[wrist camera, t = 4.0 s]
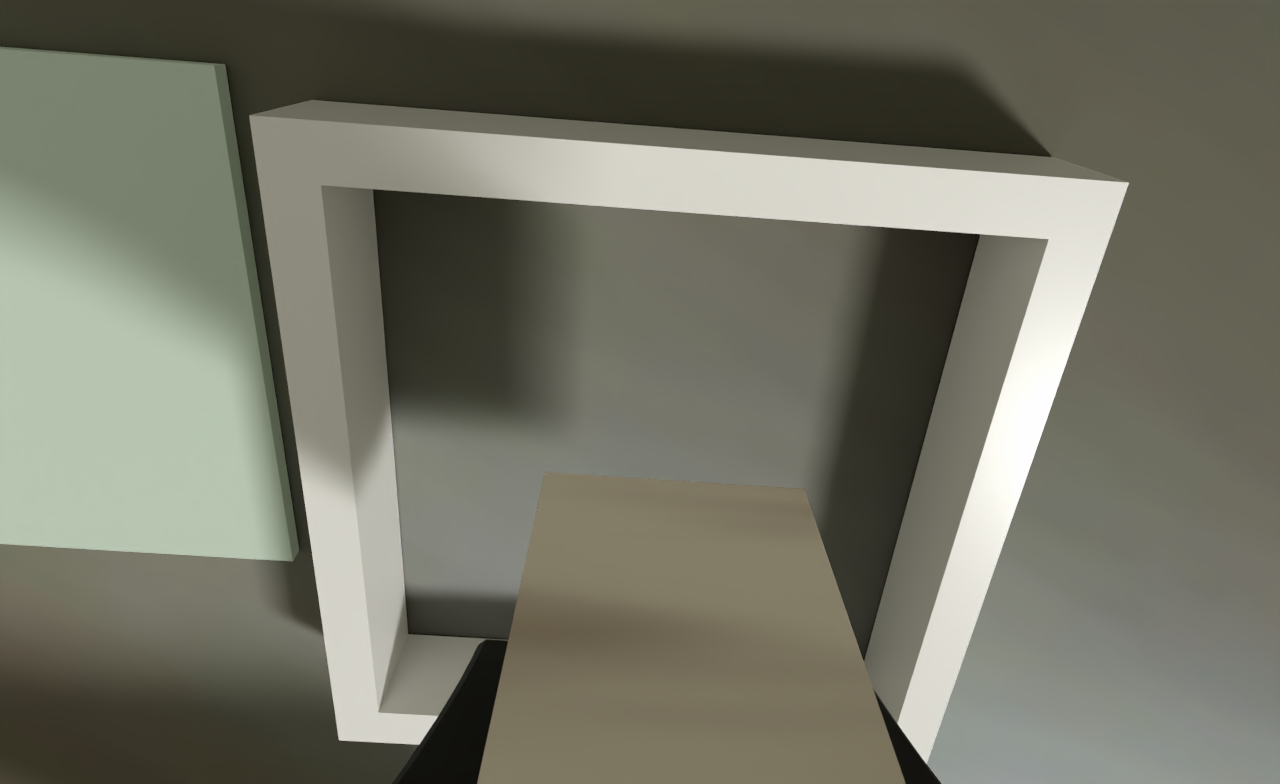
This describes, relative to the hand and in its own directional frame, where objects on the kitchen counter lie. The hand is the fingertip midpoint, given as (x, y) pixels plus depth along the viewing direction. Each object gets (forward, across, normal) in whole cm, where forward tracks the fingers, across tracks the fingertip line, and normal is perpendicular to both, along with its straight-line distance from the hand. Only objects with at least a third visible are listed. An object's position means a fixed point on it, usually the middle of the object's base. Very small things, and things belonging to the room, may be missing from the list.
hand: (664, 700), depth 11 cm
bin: (+7, 0, 0) cm, 7 cm away
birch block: (+2, 0, 0) cm, 2 cm away
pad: (+7, +14, -2) cm, 16 cm away
